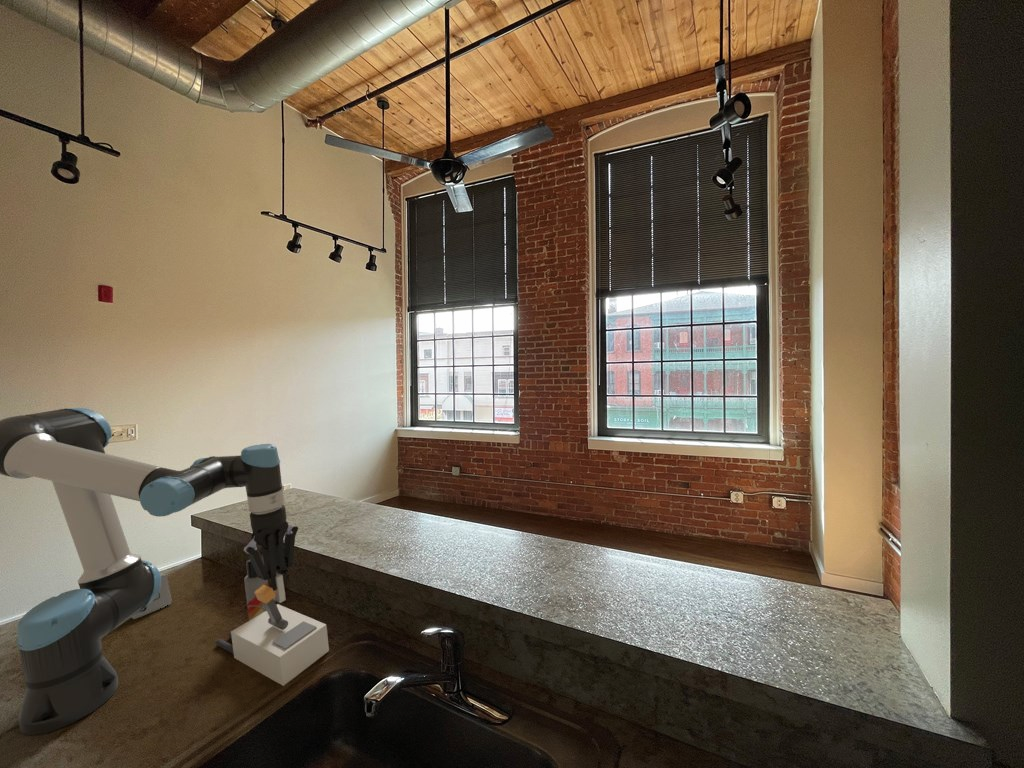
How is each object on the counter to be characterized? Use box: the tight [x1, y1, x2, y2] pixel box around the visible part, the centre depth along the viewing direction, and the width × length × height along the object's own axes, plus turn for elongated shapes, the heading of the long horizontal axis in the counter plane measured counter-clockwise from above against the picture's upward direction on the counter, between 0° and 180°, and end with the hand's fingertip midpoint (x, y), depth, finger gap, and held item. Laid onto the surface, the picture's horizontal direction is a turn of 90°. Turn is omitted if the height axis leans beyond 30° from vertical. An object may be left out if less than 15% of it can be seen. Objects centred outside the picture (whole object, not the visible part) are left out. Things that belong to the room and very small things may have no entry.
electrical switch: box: [131, 574, 173, 620], centre depth 127 cm, size 9×5×9 cm, turn 141°
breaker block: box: [230, 603, 330, 687], centre depth 105 cm, size 20×12×7 cm, turn 61°
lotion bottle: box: [243, 555, 268, 621], centre depth 115 cm, size 6×6×20 cm
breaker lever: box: [254, 585, 288, 630], centre depth 103 cm, size 5×2×11 cm, turn 61°
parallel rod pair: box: [215, 631, 234, 655], centre depth 109 cm, size 9×4×1 cm, turn 61°
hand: (279, 599), depth 104 cm, fingers closed
